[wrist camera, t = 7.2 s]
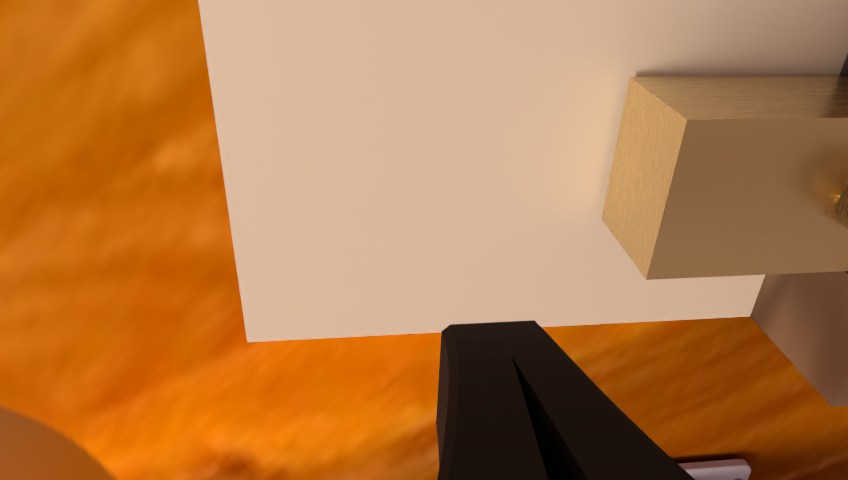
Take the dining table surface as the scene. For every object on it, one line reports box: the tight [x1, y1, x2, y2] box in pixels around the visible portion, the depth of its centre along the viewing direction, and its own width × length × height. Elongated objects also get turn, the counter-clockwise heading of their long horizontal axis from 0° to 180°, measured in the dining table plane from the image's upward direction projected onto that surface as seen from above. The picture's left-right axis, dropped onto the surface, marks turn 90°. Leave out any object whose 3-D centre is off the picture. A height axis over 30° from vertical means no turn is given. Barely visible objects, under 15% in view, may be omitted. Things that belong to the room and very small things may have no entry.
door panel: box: [198, 0, 848, 342], centre depth 17 cm, size 12×16×1 cm
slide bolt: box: [601, 76, 848, 280], centre depth 15 cm, size 4×10×4 cm, turn 88°
